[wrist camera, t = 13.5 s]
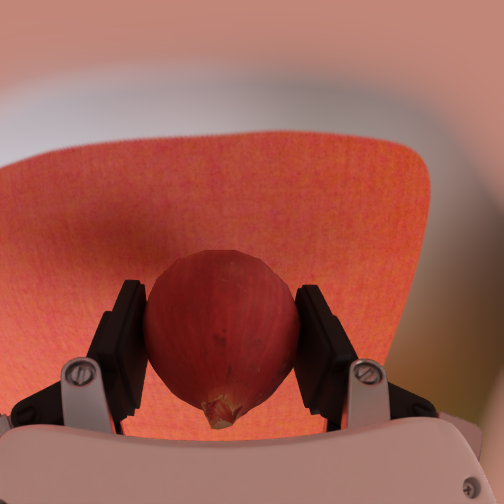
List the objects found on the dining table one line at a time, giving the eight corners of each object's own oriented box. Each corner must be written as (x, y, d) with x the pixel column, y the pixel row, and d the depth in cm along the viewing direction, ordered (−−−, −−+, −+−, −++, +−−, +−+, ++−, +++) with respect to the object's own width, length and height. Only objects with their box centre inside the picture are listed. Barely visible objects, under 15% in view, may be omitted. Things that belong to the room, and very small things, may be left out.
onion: (301, 248, 14) (373, 383, 7) (247, 334, 16) (269, 469, 9) (183, 198, 12) (146, 328, 5) (144, 301, 14) (111, 443, 7)
